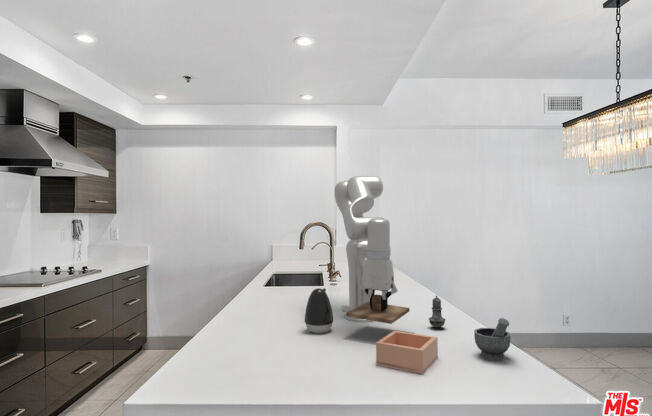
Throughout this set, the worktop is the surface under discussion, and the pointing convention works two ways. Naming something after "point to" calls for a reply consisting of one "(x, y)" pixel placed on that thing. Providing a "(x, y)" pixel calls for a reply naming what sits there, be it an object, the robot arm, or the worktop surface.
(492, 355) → the mortar and pestle
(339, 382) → the worktop surface
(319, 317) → the dark grey egg shape
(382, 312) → the walnut lid
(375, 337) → the rubber mat
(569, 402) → the worktop surface
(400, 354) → the open terracotta box
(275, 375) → the worktop surface
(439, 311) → the dark stone chess piece
